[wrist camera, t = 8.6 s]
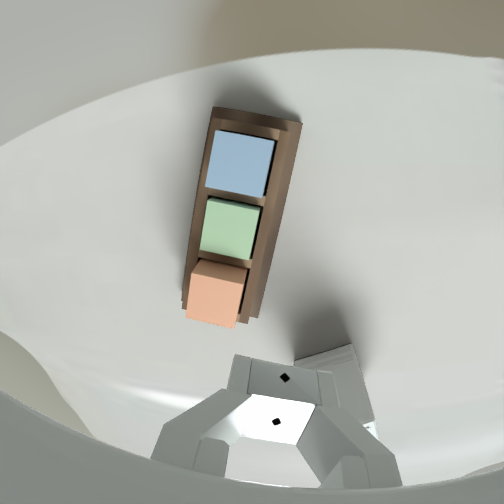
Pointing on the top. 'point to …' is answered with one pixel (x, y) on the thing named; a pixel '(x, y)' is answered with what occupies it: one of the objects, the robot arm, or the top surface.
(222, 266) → the terracotta block
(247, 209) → the sage block
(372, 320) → the top surface
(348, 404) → the supplement box
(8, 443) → the robot arm
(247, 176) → the blue block
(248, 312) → the divided box
